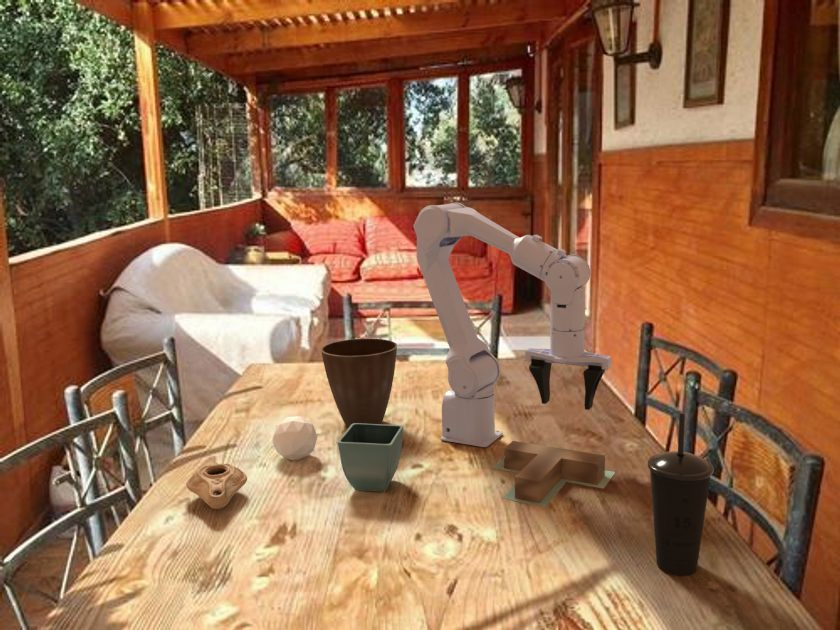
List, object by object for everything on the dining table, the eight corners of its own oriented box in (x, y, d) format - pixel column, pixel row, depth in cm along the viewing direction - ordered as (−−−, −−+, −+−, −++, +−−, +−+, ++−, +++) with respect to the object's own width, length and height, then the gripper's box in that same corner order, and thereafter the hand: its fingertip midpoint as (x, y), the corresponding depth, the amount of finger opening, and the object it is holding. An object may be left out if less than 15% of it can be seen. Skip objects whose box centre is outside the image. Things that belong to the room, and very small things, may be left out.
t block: (479, 491, 118) (478, 470, 117) (513, 459, 130) (512, 440, 129) (578, 510, 110) (578, 488, 109) (604, 475, 122) (605, 455, 121)
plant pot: (311, 432, 147) (306, 353, 143) (347, 408, 160) (343, 336, 157) (381, 440, 141) (377, 358, 138) (411, 415, 154) (408, 340, 151)
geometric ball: (293, 468, 136) (294, 425, 140) (326, 459, 132) (326, 416, 136) (262, 460, 131) (264, 416, 134) (295, 451, 127) (296, 406, 130)
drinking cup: (635, 552, 98) (639, 406, 94) (692, 548, 99) (698, 403, 95) (658, 584, 91) (664, 427, 87) (719, 579, 91) (728, 423, 87)
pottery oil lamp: (189, 523, 109) (170, 479, 110) (205, 514, 121) (188, 474, 122) (245, 496, 111) (226, 452, 111) (256, 490, 122) (238, 450, 123)
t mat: (466, 491, 118) (466, 490, 118) (508, 454, 133) (508, 453, 133) (584, 515, 109) (584, 514, 109) (615, 472, 123) (615, 471, 123)
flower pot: (393, 499, 116) (391, 444, 114) (339, 495, 118) (336, 441, 116) (406, 476, 125) (404, 424, 123) (355, 473, 126) (352, 422, 125)
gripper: (518, 329, 127) (518, 406, 129) (603, 336, 120) (601, 417, 122) (533, 321, 133) (533, 394, 135) (615, 327, 126) (613, 405, 128)
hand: (566, 405), depth 129 cm, fingers open, 7 cm apart
